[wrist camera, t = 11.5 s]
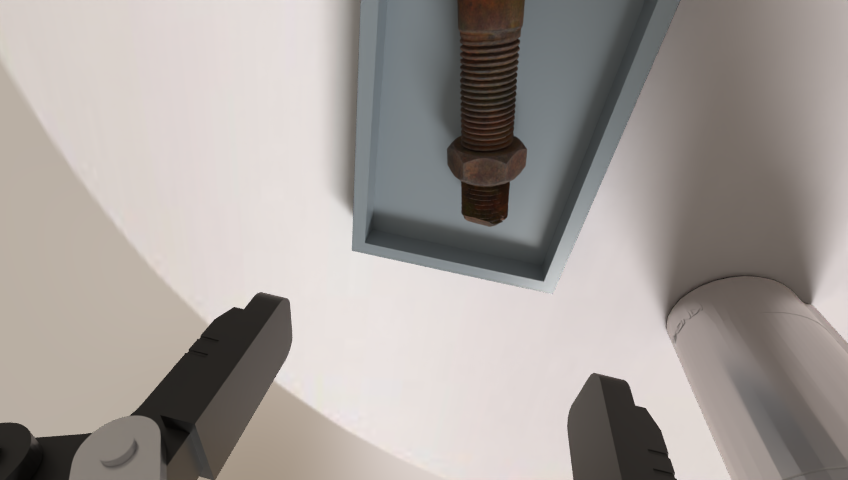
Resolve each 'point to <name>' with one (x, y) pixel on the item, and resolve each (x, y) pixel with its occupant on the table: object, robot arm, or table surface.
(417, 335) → the table surface
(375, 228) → the tray
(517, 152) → the bolt
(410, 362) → the table surface
